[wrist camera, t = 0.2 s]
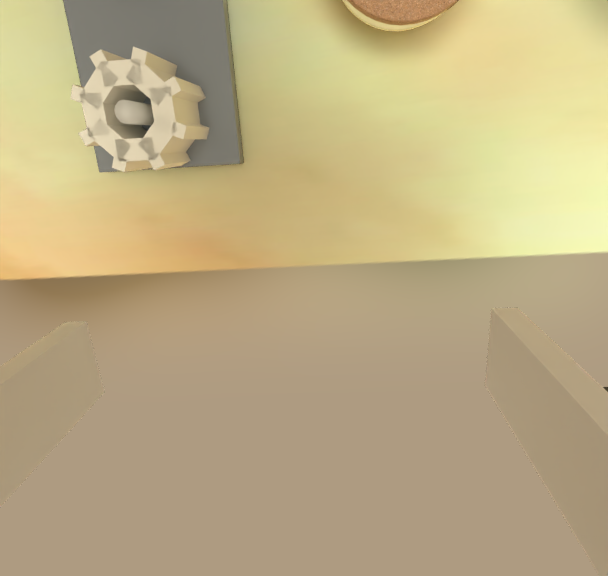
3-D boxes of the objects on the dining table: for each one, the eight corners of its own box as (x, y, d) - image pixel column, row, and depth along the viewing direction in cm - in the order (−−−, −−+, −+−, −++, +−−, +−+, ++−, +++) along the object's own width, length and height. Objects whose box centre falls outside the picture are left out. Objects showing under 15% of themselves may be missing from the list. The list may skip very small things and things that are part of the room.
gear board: (58, -70, 34) (-21, -129, 26) (217, -88, 33) (182, -156, 25) (107, 171, 40) (54, 178, 32) (243, 162, 39) (221, 168, 31)
